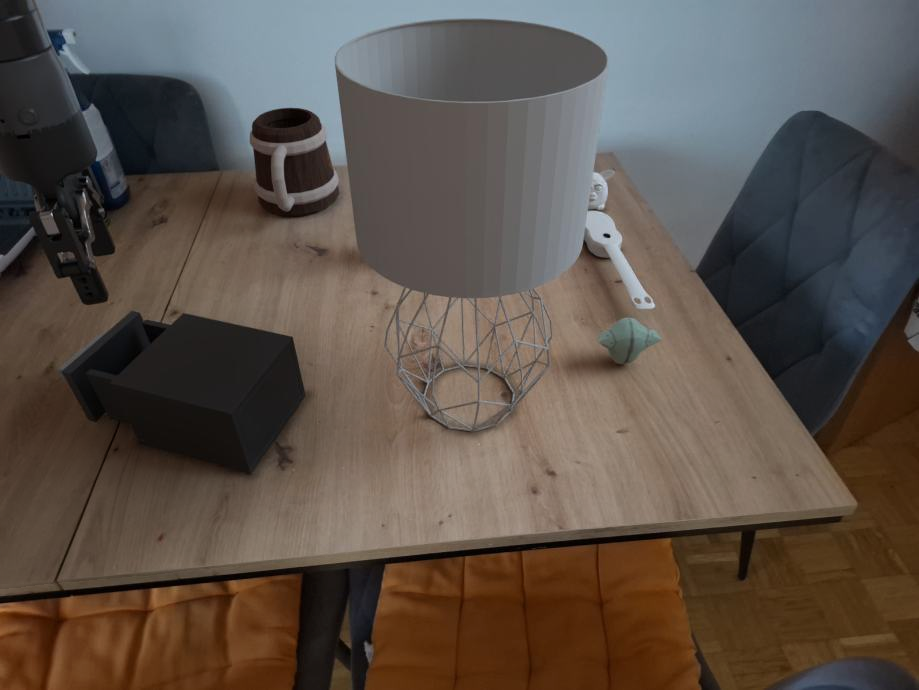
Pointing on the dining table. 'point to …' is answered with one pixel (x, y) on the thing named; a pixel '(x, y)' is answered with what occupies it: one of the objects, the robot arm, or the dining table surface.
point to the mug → (292, 163)
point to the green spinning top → (627, 340)
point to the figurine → (599, 189)
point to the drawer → (108, 364)
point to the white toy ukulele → (613, 254)
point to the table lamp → (470, 166)
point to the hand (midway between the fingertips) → (101, 276)
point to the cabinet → (212, 391)
